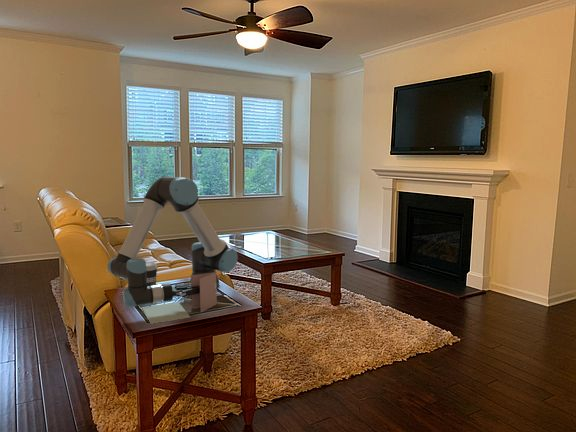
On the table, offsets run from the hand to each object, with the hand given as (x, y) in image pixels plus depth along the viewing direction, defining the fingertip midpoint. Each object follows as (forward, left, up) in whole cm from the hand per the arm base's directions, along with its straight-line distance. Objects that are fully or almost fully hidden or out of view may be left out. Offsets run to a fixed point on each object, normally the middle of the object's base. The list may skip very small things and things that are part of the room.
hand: (215, 285), depth 199 cm
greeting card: (+3, -5, -9) cm, 11 cm away
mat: (0, -23, -9) cm, 24 cm away
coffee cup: (-29, -25, -9) cm, 39 cm away
